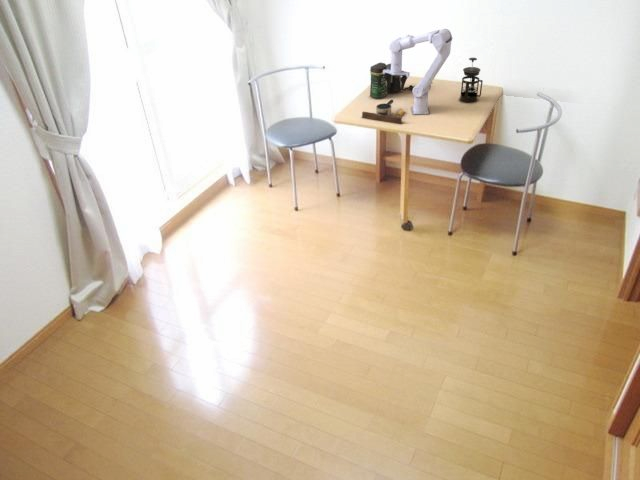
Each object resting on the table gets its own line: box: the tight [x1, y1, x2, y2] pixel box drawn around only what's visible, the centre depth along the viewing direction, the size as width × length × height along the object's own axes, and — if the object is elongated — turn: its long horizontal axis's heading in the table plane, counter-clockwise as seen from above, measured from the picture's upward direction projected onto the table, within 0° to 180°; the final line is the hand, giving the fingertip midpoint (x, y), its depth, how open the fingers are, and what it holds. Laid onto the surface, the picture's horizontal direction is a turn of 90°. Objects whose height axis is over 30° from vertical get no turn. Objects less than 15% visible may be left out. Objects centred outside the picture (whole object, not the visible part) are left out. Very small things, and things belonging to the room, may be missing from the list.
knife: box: [395, 109, 405, 118], centre depth 274 cm, size 12×2×1 cm, turn 150°
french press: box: [459, 57, 484, 104], centre depth 279 cm, size 12×9×23 cm
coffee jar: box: [369, 62, 387, 99], centre depth 294 cm, size 10×8×19 cm
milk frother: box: [386, 63, 416, 94], centre depth 299 cm, size 14×16×15 cm
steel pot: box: [375, 99, 394, 116], centre depth 277 cm, size 15×8×6 cm, turn 150°
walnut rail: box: [361, 111, 403, 125], centre depth 272 cm, size 22×2×3 cm, turn 61°
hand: (395, 88), depth 279 cm, fingers open, 7 cm apart
